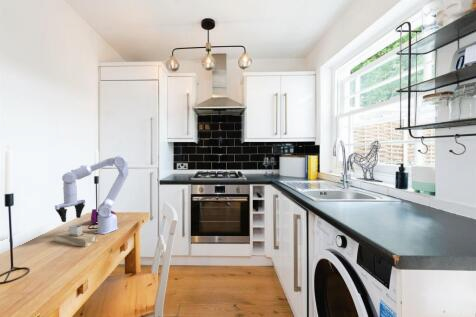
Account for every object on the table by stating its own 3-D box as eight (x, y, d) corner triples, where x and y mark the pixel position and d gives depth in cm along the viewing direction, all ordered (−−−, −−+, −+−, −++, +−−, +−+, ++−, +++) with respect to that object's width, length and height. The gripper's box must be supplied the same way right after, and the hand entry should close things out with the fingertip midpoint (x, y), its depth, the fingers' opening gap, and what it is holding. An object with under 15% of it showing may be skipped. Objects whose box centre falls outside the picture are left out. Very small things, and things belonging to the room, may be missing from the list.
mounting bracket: (101, 227, 160) (89, 222, 144) (102, 214, 164) (92, 209, 147) (115, 226, 162) (106, 221, 146) (117, 214, 165) (108, 208, 149)
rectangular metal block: (74, 240, 121) (73, 224, 120) (82, 241, 118) (81, 226, 118) (69, 242, 118) (69, 226, 118) (77, 243, 116) (77, 227, 116)
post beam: (68, 237, 125) (67, 230, 125) (97, 241, 118) (97, 235, 117) (55, 241, 119) (54, 234, 119) (85, 246, 112) (85, 239, 111)
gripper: (78, 191, 133) (79, 215, 133) (50, 196, 119) (51, 222, 120) (87, 192, 130) (88, 216, 131) (59, 197, 117) (60, 224, 117)
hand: (71, 219), depth 125 cm, fingers open, 7 cm apart
